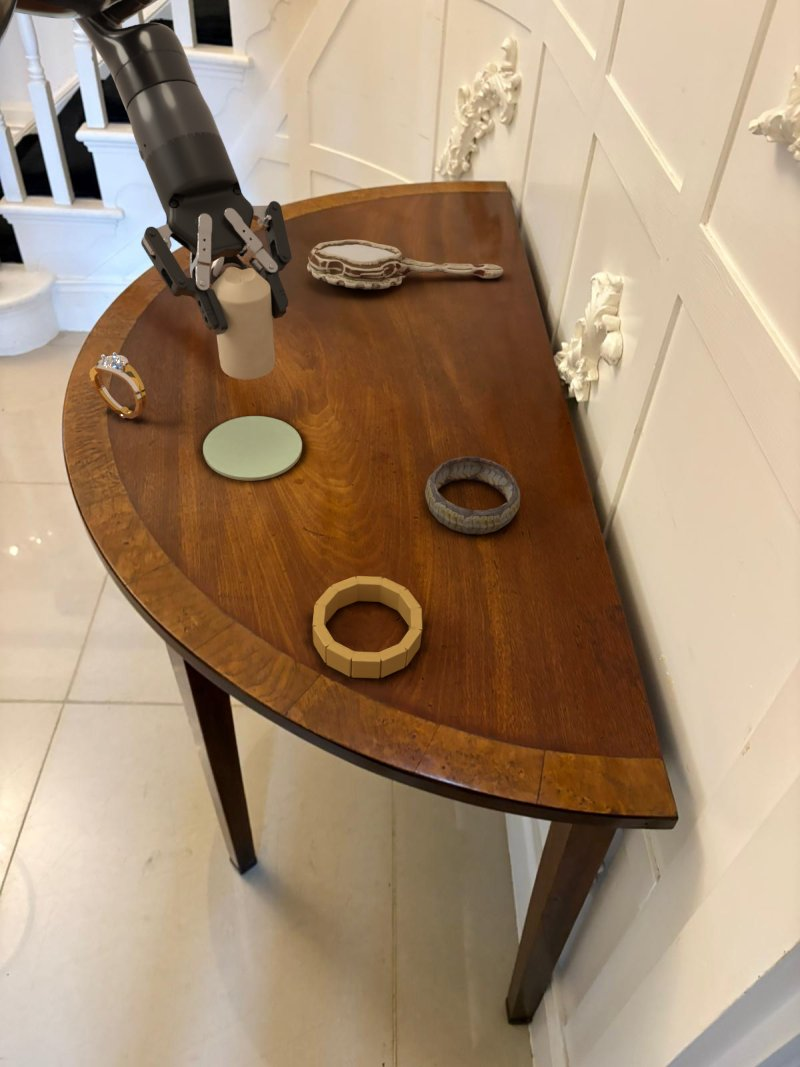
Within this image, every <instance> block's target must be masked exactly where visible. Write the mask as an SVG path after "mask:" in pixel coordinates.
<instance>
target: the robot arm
mask: <svg viewBox="0 0 800 1067" xmlns="http://www.w3.org/2000/svg"><path fill="white" fill-rule="evenodd" d="M157 1H158V0H0V47H1V45H2V44H3V42H4V40H5V37H6V35H7V32H8V30H9V28H10V26H11V22H12V20H13V18H14V16H15V13H18V14H23V15H26V16H34V17H39V18H50V19H64V20H65V19H66V20H67V19H74V21H75V22H76V23H77V25H78V26H79V27H80V28H81V30H82V31H83V33H84V34H85V35H86V37H87V38H88V39H89V41H90V43H91V44H92V45H93V47H94V48H95V50H96V52H97V53H98V54H99V56H100V58H101V59H102V61H103V62H104V64H105V65H106V67H107V69H108V71H109V73H110V75H111V77H112V79H113V81H114V84H115V87H116V89H117V91H118V94H119V97H120V99H121V102H122V104H123V106H124V109H125V111H126V113H127V116H128V120H129V122H130V126H131V130H132V134H133V138H134V140H135V143H136V145H137V148H138V153H139V156H140V158H141V161H142V162H143V163H144V165H145V168H146V170H147V173H148V175H149V178H150V180H151V183H152V186H153V187H154V190H155V192H156V195H157V197H158V199H159V202H160V204H161V207H162V209H163V212H164V213H165V216H166V217H165V218H166V223H165V224H164V225H161V226H159V227H154V226H148V227H146V229H145V231H144V233H143V235H142V238H141V242H140V244H141V247H142V249H143V250H144V252H145V253H146V255H147V256H148V258H149V260H150V261H151V263H152V264H153V266H154V268H155V269H156V271H157V272H158V274H159V276H160V277H161V279H162V281H163V282H164V283H165V286H166V287H167V289H168V290H169V292H170V294H171V295H172V296H174V297H181V296H186V297H191V298H192V299H193V300H195V302H196V304H197V307H198V309H199V312H200V314H201V317H202V319H203V321H204V324H205V326H206V327H207V329H208V330H209V331H214V333H215V335H216V336H217V335H219V334H223V333H225V332H226V330H227V329H228V324H227V322H226V319H225V317H224V314H223V312H222V309H221V307H220V304H219V302H218V299H217V297H216V294H215V292H214V289H213V290H211V287H210V283H211V280H210V279H211V263H213V262H214V261H215V260H217V259H219V258H220V257H233V256H237V257H238V258H239V259H240V260H241V261H242V262H243V263H244V264H245V265H246V266H248V267H249V268H253V269H254V270H255V271H256V272H257V273H258V274H259V275H260V276H261V277H263V278H264V279H265V280H266V281H267V282H268V283H269V285H270V289H271V305H272V319H274V320H275V319H279V318H283V317H284V316H285V314H287V307H288V306H289V298H288V295H287V293H286V291H285V289H284V288H285V287H284V285H283V283H282V280H281V278H280V276H279V272H281V271H283V270H284V269H285V267H286V266H287V265H288V264H289V263H290V262H291V261H292V258H293V257H292V252H291V246H290V243H289V238H288V237H289V236H288V233H287V229H286V228H287V227H286V224H285V218H284V215H283V214H284V213H283V210H282V206H281V203H279V202H278V201H275V200H271V201H270V202H269V204H268V205H252V203H251V202H250V201H249V200H248V199H247V198H246V197H245V196H244V194H243V192H242V188H241V184H240V182H239V179H238V176H237V174H236V171H235V169H234V167H233V166H234V165H233V164H232V161H231V159H230V156H229V154H228V150H227V148H226V145H225V143H224V141H223V139H222V136H221V133H220V131H219V128H218V125H217V123H216V120H215V118H214V115H213V113H212V111H211V109H210V107H209V104H208V103H207V102H206V100H205V98H204V96H203V94H202V92H201V89H200V88H199V85H198V81H197V79H196V77H195V75H194V73H193V70H192V67H191V65H190V62H189V59H188V57H187V55H186V51H185V50H184V49H185V48H184V46H183V44H182V43H181V41H180V38H179V37H178V35H177V34H176V33H175V31H174V30H173V29H171V28H170V27H169V26H167V25H165V24H162V23H158V22H143V23H138V24H133V25H129V26H126V27H123V24H124V23H125V22H127V21H128V20H130V19H132V18H133V17H134V16H135V15H137V14H140V12H142V11H143V10H145V9H146V8H148V7H150V6H152V5H153V4H155V3H156V2H157ZM253 220H254V221H255V222H256V223H257V224H258V227H259V229H260V230H262V231H264V233H265V234H264V235H265V238H266V242H267V247H268V251H269V252H267V251H266V250H265V248H264V244H263V242H262V241H261V240H260V239H259V238H258V237H257V235H255V233H254V232H253V231H252V230H251V229H252V228H251V227H252V224H253ZM171 239H173V240H174V241H175V242H177V243H178V244H179V245H181V247H183V248H185V249H186V250H187V251H189V274H190V277H187V276H186V274H185V272H184V271H183V268H181V266H180V264H179V261H178V260H177V259H176V258H175V255H174V254H173V253H172V251H171V248H172V241H171Z"/></svg>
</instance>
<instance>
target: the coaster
mask: <svg viewBox="0 0 800 1067" xmlns="http://www.w3.org/2000/svg"><path fill="white" fill-rule="evenodd" d="M302 452H303V442H302V438H301V435H300V434H299V433H298V431H297V430H296V429H295V428H294V427H293V426H291V425H290V424H289V423H287V422H285V421H283V420H280V419H278V418H274V417H269V416H263V415H249V416H240V417H236V418H232V419H230V420H227V421H225V422H222V423H220V424H219V425H217V426H216V427H214V428H213V429H212V430H211V431H210V432H209V433H208V435H207V436H206V437H205V439H204V441H203V445H202V454H203V458H204V460H205V463H207V465H208V467H209V468H210V469H212V470H213V471H214V472H216V473H217V474H219V475H221V476H223V477H226V478H227V479H228V478H229V479H232V480H237V481H245V482H246V481H247V482H254V481H262V480H268V479H272V478H275V477H277V476H280V475H282V474H284V473H286V472H287V471H289V470H291V469H292V468H293V467H294V466H295V465H296V464H297V463H298V461H299V460H300V458H301V456H302Z"/></svg>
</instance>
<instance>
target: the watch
mask: <svg viewBox="0 0 800 1067" xmlns="http://www.w3.org/2000/svg"><path fill="white" fill-rule="evenodd" d="M227 264H235V265H238V266H240V267H241V269H242V270H244V269H247V265H245V264H244V263H243V262H242V261H241V260H240V259H239V258H238V257H237V256H233V257H220V258H219V259H217V260H215V261H212V265H211V267H210V283H211V285H213V283H214V282H215V281H216V280H217V279H218V278H219V277H218V276H219V275H220V273H221V271H222V269H223V266H225V265H227Z"/></svg>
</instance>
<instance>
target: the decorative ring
mask: <svg viewBox="0 0 800 1067" xmlns="http://www.w3.org/2000/svg"><path fill="white" fill-rule="evenodd" d="M459 481H475V482H479V483H482V484H486V485H488V486H490V487H492V488H494V489H496V490H497V491H498V492H499V493H501V495H502V496H503V497H504V498H505V500H506V501H507V502H505V503H503V504H502V505H500V506H498V507H495V508H490V509H486V510H485V509H484V510H481V509H480V510H479V509H469V508H465V507H461V506H458V505H456V504H454V503H452V502H451V501H448V500H447V499H445V498H444V496H443V495H442V494H441V493H440V491H439V489H440V488H442V487H444V486H446V485H448V484H450V483H453V482H459ZM424 496H425V500H426V503H427V507H428V510H429V512H430V513H431V514H432V516H433V517H434V518H435V519H436V520H437V521H438V523H440V524H442V525H443V526H445V527H446V528H449V530H452V531H455V532H458V533H462V534H465V535H485V534H489V533H495V532H498V531H499V530H500V529H502V528H503V527H505V526H507V525H508V524H510V523H511V521H512V520H513V518H514V517H515V515H516V514H517V513H518V511H519V509H520V504H521V490H520V487H519V486H518V483H517V480H516V478H515V477H514V475H513V474H512V473H511V472H510V471H509V470H508V469H507V468H506V467H505V466H503V465H501V464H499V463H497V462H495V461H494V460H490V459H487V458H483V457H479V456H460V457H455V458H450V459H448V460H446V461H445V462H443V463H441V464H439V465H438V466H437V467H436V468H435V470H434V471H433V472H432V473H431V474H430V476H429V477H428V479H427V482H426V485H425V490H424Z"/></svg>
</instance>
